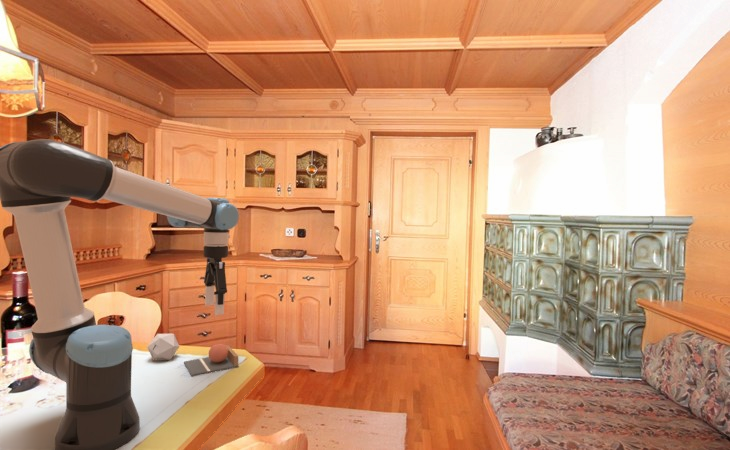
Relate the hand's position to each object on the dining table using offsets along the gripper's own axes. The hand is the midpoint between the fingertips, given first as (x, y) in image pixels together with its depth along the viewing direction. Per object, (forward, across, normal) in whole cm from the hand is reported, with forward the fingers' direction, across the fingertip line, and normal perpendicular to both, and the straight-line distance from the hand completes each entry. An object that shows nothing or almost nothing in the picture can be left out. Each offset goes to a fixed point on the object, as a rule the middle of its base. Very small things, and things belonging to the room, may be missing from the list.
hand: (214, 309), depth 124 cm
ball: (+17, -1, -2) cm, 17 cm away
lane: (+18, -1, +1) cm, 18 cm away
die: (+18, +13, +13) cm, 26 cm away
